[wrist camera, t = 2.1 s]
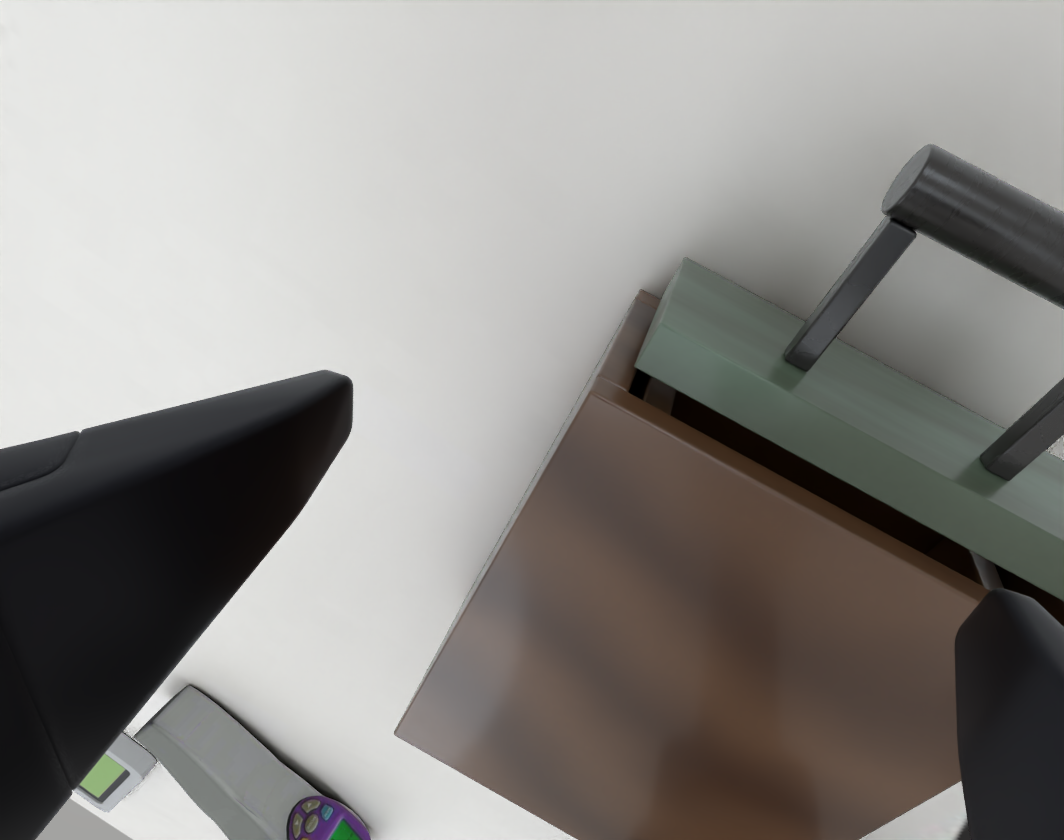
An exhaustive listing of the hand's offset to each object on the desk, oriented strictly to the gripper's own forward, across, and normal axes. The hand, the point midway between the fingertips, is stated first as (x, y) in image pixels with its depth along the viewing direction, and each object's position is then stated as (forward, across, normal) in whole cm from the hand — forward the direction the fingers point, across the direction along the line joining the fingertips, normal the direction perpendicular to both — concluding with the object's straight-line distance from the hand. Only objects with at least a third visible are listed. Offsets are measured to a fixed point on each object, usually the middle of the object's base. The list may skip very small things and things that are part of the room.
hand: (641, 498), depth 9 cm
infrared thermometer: (+11, +17, +40) cm, 45 cm away
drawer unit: (+11, -3, +11) cm, 16 cm away
